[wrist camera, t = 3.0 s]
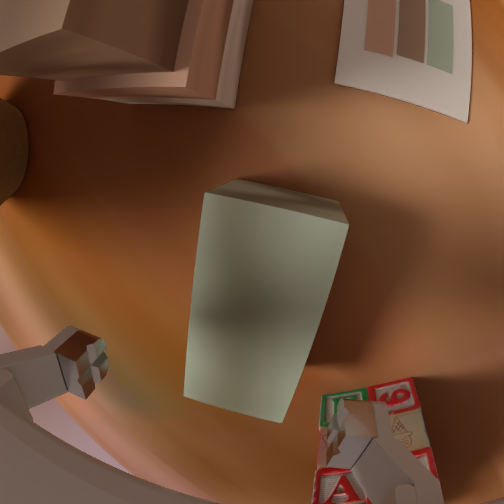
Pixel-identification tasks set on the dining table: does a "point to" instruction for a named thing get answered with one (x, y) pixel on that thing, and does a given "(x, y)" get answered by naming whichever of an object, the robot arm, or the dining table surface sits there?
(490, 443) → the dining table surface
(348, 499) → the stack of blocks
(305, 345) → the brick sage
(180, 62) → the base brick
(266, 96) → the dining table surface
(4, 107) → the plant pot
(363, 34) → the page
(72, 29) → the brick walnut
